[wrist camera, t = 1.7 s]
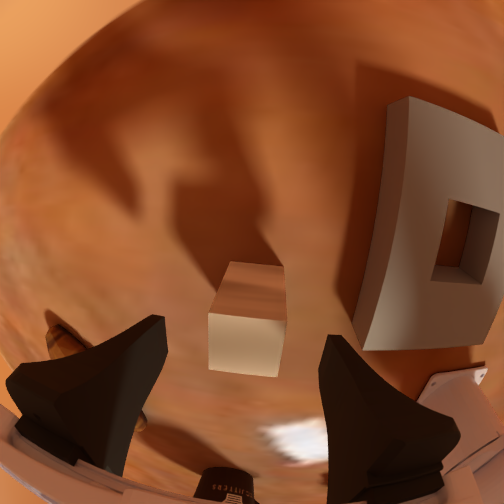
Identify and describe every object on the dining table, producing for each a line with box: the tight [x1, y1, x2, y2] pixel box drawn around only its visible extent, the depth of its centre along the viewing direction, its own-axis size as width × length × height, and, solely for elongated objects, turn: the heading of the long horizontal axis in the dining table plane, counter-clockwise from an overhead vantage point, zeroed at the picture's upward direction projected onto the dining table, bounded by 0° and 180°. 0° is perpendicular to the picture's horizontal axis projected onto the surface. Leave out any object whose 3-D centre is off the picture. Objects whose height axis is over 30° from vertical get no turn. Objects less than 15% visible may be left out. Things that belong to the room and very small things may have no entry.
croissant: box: [46, 325, 147, 432], centre depth 20 cm, size 14×7×5 cm, turn 32°
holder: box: [352, 96, 504, 350], centre depth 14 cm, size 14×11×3 cm
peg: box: [208, 261, 287, 377], centre depth 14 cm, size 3×3×6 cm
